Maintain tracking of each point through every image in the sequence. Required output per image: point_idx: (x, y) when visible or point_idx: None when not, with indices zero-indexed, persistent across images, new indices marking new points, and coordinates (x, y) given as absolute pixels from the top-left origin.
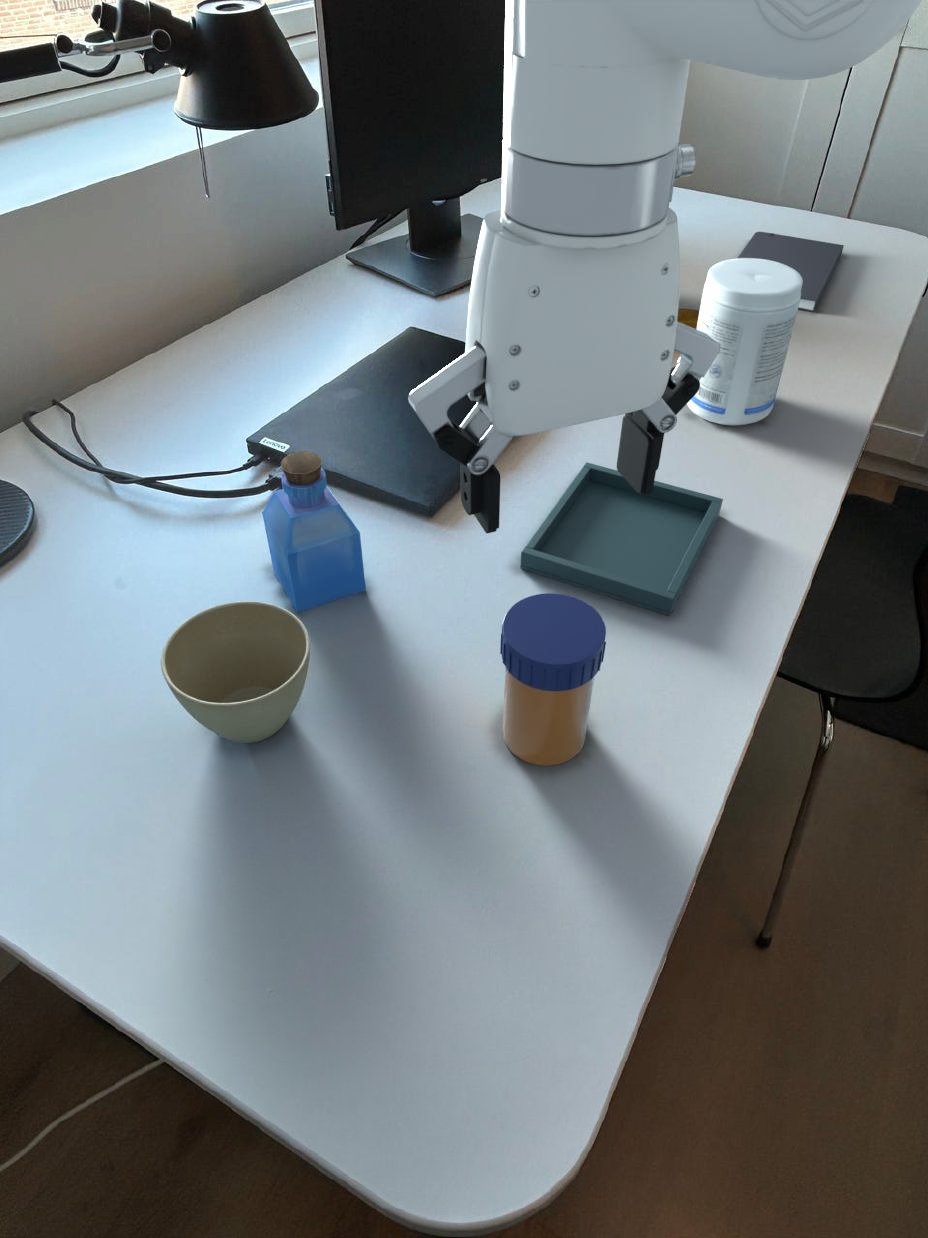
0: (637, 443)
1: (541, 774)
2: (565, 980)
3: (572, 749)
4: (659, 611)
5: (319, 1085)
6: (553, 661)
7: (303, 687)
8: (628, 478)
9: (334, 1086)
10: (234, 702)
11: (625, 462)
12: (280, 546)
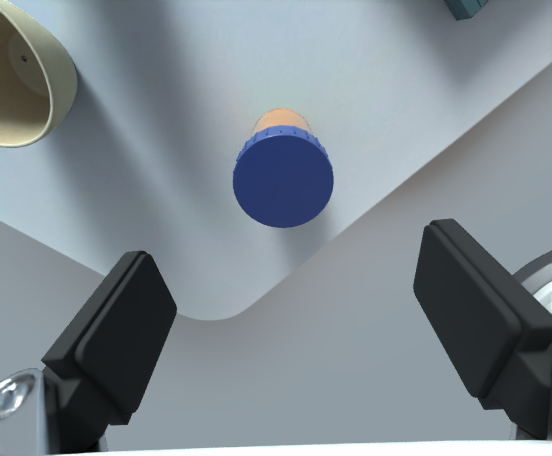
0: (464, 344)
1: None
2: (250, 273)
3: None
4: (451, 11)
5: None
6: (269, 223)
7: (71, 94)
8: (421, 263)
9: None
10: (21, 47)
11: (435, 267)
12: None
